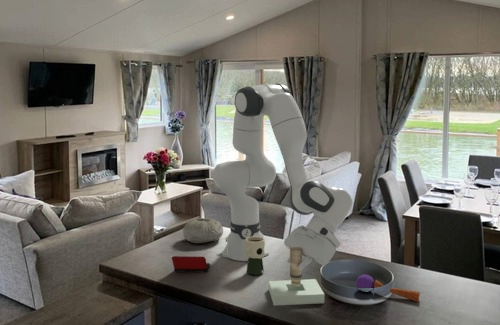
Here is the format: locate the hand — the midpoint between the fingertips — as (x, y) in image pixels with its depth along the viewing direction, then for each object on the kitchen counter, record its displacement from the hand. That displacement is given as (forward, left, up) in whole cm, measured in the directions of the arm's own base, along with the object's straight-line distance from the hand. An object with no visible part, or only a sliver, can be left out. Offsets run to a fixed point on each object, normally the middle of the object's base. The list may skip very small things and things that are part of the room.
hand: (294, 265), depth 152 cm
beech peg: (0, +1, -6) cm, 6 cm away
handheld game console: (-27, -34, -11) cm, 45 cm away
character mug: (-21, -10, -11) cm, 26 cm away
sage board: (0, +1, -10) cm, 10 cm away
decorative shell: (-61, -29, -11) cm, 69 cm away
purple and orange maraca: (+2, +30, -11) cm, 32 cm away
